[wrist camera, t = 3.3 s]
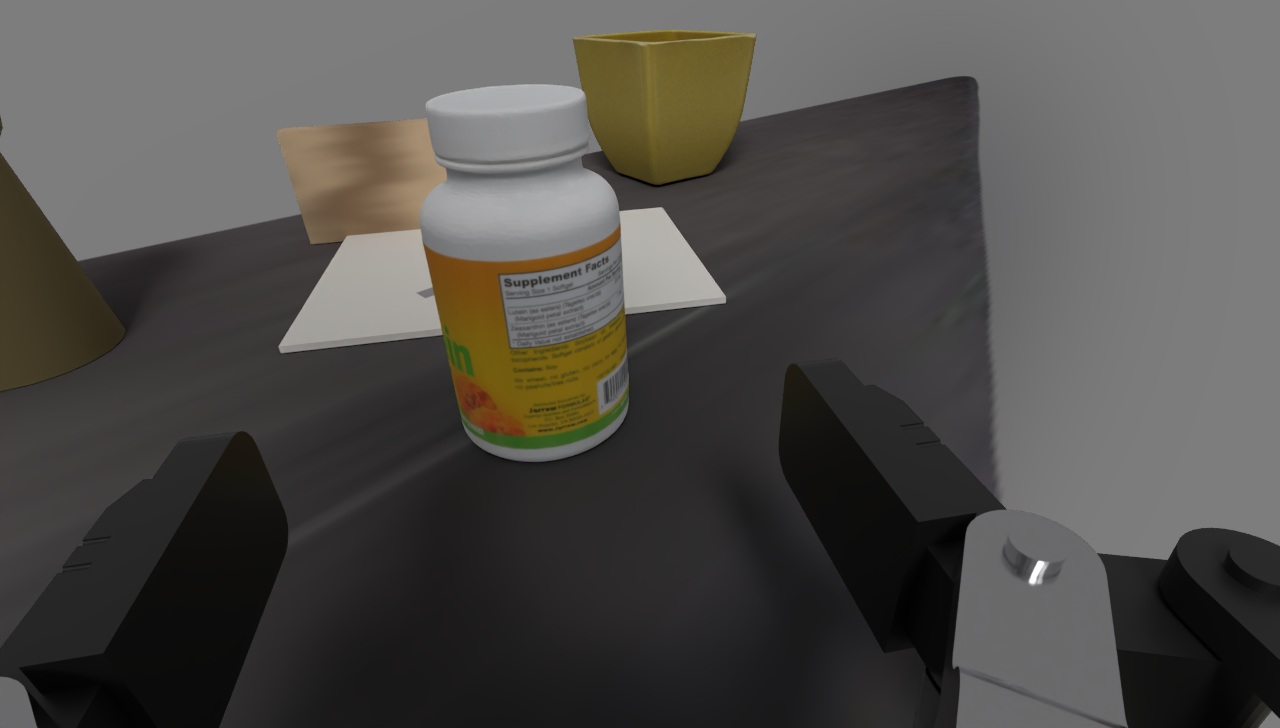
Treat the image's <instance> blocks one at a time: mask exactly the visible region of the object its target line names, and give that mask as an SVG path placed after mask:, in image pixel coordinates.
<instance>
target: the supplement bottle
mask: <svg viewBox="0 0 1280 728" xmlns="http://www.w3.org/2000/svg"><path fill="white" fill-rule="evenodd" d="M426 115H427V121H428V128H429V133H430V138H431V144H432V148H433V151H434V152H435V156H434V158H435V161H436V162H437V164H439V165H440V166H442V167H445V168H446V173H447V180H446V181H444V182H442V183H441V184H439V185H438V186H436V187H435V188H434V189H433V190H432V191H431V192H430V193H429V194H428V195H427V197H426V198H425V199H424V202H423V204H422V206H421V210H420V217H419V221H420V229H421V234H422V241H423V246H424V251H425V255H426V259H427V263H428V268H429V273H430V278H431V282H432V287H433V292H434V296H435V301H436V306H437V310H438V315H439V319H440V324H441V330H442V334H443V338H444V342H445V347H446V351H447V356H448V360H449V365H450V369H451V374H452V379H453V383H454V388H455V393H456V397H457V402H458V407H459V411H460V415H461V419H462V423H463V426H464V429H465V431H466V433H467V435H468V436H469V437H470V439H471V440H472V441H473V442H474V443H475V444H476V445H477V446H479V447H480V448H482V449H483V450H485V451H487V452H489V453H491V454H493V455H496V456H498V457H502V458H506V459H510V460H515V461H523V462H545V461H552V460H558V459H563V458H567V457H570V456H574V455H577V454H580V453H582V452H584V451H587V450H589V449H591V448H593V447H595V446H597V445H598V444H600V443H601V442H603V441H604V440H606V439H607V438H608V437H610V436H611V435H612V434H613V433H614V432H615V431H616V430H617V429H618V428H619V427H620V425H621V424H622V422H623V420H624V418H625V416H626V414H627V411H628V405H629V374H628V357H627V338H626V321H625V304H624V285H623V265H622V245H621V223H620V214H619V206H618V201H617V197H616V195H615V192H614V190H613V189H612V187H611V186H610V185H609V183H608V182H607V181H606V180H605V179H604V178H602V177H601V176H600V175H598V174H596V173H595V172H592V171H590V170H588V169H585V168H583V167H582V161H581V156H583V155H584V154H585V153H586V152H587V151H588V149H589V145H588V141H589V139H590V130H589V122H588V112H587V101H586V95H585V93H584V92H583V91H582V90H580V89H577V88H574V87H567V86H560V85H536V84H534V85H533V84H531V85H509V86H495V87H484V88H476V89H470V90H463V91H458V92H453V93H448V94H443V95H441V96H438V97H435V98H433V99H431V100H429V101H428V102H427V103H426Z"/></svg>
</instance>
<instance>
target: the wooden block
mask: <svg viewBox="0 0 1280 728" xmlns="http://www.w3.org/2000/svg"><path fill="white" fill-rule="evenodd" d="M276 134H277V137H278V140H279V143H280V146H281V150H282V153H283V156H284V160H285V163H286V166H287V169H288V172H289V175H290V179H291V182H292V185H293V188H294V192H295V195H296V198H297V201H298V205H299V208H300V211H301V214H302V217H303V221H304V224H305V227H306V230H307V234H308V237H309V240H310V243H311V244H321V243H332V242H343V241H344V240H345V238H346V237H347V236H351V235H362V234H373V233H384V232H395V231H406V230H417V229H420V221H419V217H420V210H421V206H422V204H423V202H424V199H425V198H426V197H427V195H428V194H429V193H430V192H431V191H432V190H433V189H434V188H435V187H436V186H438V185H439V184H441V183H442V182H444V181H446V180H447V173H446V168H445V167H442V166H440V165H439V164H437V162H436V161H435V158H434V156H435V152H434V151H433V148H432V144H431V138H430V133H429V128H428V121H427V119H414V120H399V121H384V122H371V123H370V122H369V123H354V124H340V125H325V126H310V127H296V128H282V129H280V130H278V131H277V132H276Z"/></svg>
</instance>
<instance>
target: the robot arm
mask: <svg viewBox="0 0 1280 728" xmlns="http://www.w3.org/2000/svg"><path fill="white" fill-rule="evenodd" d="M779 456H780V462H781V466H782V470H783V473H784V476H785V478H786V480H787V482H788V484H789V486H790V487H791V489H792V491H793V493H794V494H795V496H796V498H797V500H798V502H799V503H800V505H801V507H802V509H803V510H804V512H805V514H806V516H807V517H808V519H809V521H810V523H811V525H812V526H813V528H814V530H815V532H816V533H817V535H818V537H819V539H820V540H821V542H822V544H823V546H824V547H825V549H826V551H827V553H828V555H829V556H830V558H831V560H832V562H833V563H834V565H835V567H836V569H837V570H838V572H839V574H840V576H841V577H842V579H843V581H844V583H845V585H846V586H847V588H848V590H849V592H850V593H851V595H852V597H853V599H854V600H855V602H856V604H857V606H858V608H859V609H860V611H861V613H862V615H863V616H864V618H865V620H866V622H867V623H868V625H869V627H870V629H871V630H872V632H873V634H874V636H875V638H876V639H877V641H878V643H879V645H880V646H881V648H882V650H883V652H884V653H887V652H892V651H897V650H902V649H907V648H912V647H915V649H916V650H917V652H918V654H919V655H920V657H921V658H922V660H923V662H924V663H925V664H924V668H923V671H922V674H921V678H920V684H919V691H918V698H917V705H916V711H915V718H914V725H913V728H1258V727H1259V726H1260V725H1261V724H1262V722H1263V721H1264V720H1265V718H1266V717H1267V716H1268V715H1269V714H1270V712H1271V711H1273V712H1274V713H1275V714H1276V715H1277V716H1278V717H1279V718H1280V546H1278V545H1276V544H1274V543H1271V542H1269V541H1267V540H1264V539H1261V538H1259V537H1256V536H1252V535H1249V534H1246V533H1241V532H1238V531H1233V530H1228V529H1220V528H1201V529H1196V530H1192V531H1189V532H1187V533H1185V534H1184V535H1183V536H1182V537H1181V538H1180V539H1179V541H1178V543H1177V545H1176V547H1175V548H1174V550H1173V552H1172V554H1171V555H1170V557H1169V559H1168V560H1161V559H1150V558H1140V557H1129V556H1119V555H1109V554H1099V553H1096V552H1095V550H1094V549H1093V548H1092V547H1091V546H1090V545H1089V544H1088V543H1087V542H1086V541H1085V540H1083V539H1082V538H1081V537H1080V536H1078V535H1077V534H1076V533H1074V532H1073V531H1071V530H1070V529H1068V528H1066V527H1065V526H1063V525H1061V524H1059V523H1057V522H1055V521H1053V520H1050V519H1048V518H1045V517H1043V516H1039V515H1036V514H1033V513H1028V512H1024V511H1017V510H1007V509H1006V508H1005V507H1004V506H1003V505H1002V504H1001V503H1000V502H999V501H998V500H997V499H996V498H995V497H994V496H993V495H992V494H991V492H990V491H989V490H988V489H987V488H986V487H985V486H984V485H983V484H982V483H981V482H980V481H979V480H978V479H977V478H976V477H975V476H974V475H973V474H972V473H971V472H970V470H969V469H968V468H967V467H966V466H965V465H964V464H963V463H962V462H961V461H960V460H959V459H958V458H957V457H956V456H955V455H954V454H953V453H952V452H951V451H950V449H949V448H948V447H947V446H946V445H941V443H940V439H939V438H938V437H937V436H936V435H935V434H934V433H933V432H932V431H931V430H930V428H929V427H924V422H923V421H922V420H921V419H920V418H919V417H918V416H917V415H916V414H915V413H914V412H913V411H912V410H911V409H910V407H909V406H908V405H907V404H906V403H905V402H904V401H902V400H900V399H899V398H897V397H895V396H893V395H892V394H890V393H888V392H886V391H884V390H883V389H881V388H879V387H877V386H875V385H868V386H864V385H863V384H862V383H861V382H860V381H859V380H858V378H857V377H856V376H855V375H854V374H853V373H852V372H851V371H850V369H849V368H848V367H847V366H846V365H845V364H844V363H843V362H842V361H841V360H839V359H836V358H835V359H827V360H819V361H811V362H803V363H795V364H791V365H789V367H788V369H787V371H786V375H785V383H784V393H783V403H782V414H781V424H780V434H779ZM287 543H288V524H287V518H286V514H285V511H284V508H283V506H282V504H281V501H280V499H279V497H278V494H277V492H276V490H275V487H274V485H273V483H272V480H271V478H270V476H269V473H268V471H267V469H266V466H265V464H264V462H263V459H262V457H261V455H260V452H259V450H258V447H257V445H256V443H255V441H254V440H253V438H252V437H251V436H250V435H249V434H248V433H246V432H243V431H241V432H232V433H224V434H216V435H208V436H200V437H192V438H185V439H182V440H181V441H179V442H178V443H177V445H176V446H175V447H174V449H173V450H172V451H171V453H170V454H169V456H168V457H167V458H166V460H165V461H164V463H163V464H162V465H161V467H160V468H159V470H158V471H157V472H156V474H155V475H154V477H153V478H152V479H146V480H142V481H141V482H140V483H138V484H137V485H136V486H135V487H133V488H132V489H131V490H130V491H128V492H127V493H126V494H124V495H123V496H122V497H121V498H119V499H118V500H117V501H115V502H114V503H113V504H112V505H110V506H109V507H108V508H106V510H105V511H104V512H103V514H102V515H101V516H100V518H99V519H98V520H97V522H96V523H95V524H94V526H93V527H92V528H91V530H90V531H89V532H88V534H87V535H86V536H85V537H84V539H83V546H78V547H77V548H76V549H75V551H74V552H73V553H72V555H71V556H70V557H69V559H68V560H67V561H66V563H65V564H64V565H63V572H62V573H59V574H57V575H56V576H55V577H54V578H53V580H52V581H51V582H50V584H49V585H48V586H47V588H46V589H45V590H44V592H43V593H42V594H41V596H40V597H39V598H38V600H37V601H36V602H35V604H34V605H33V606H32V608H31V609H30V610H29V612H28V613H27V614H26V615H25V617H24V618H23V619H22V621H21V622H20V623H19V625H18V626H17V627H16V629H15V630H14V631H13V633H12V634H11V635H10V637H9V638H8V639H7V641H6V642H5V643H4V645H3V646H2V647H1V649H0V728H219V726H220V723H221V721H222V718H223V716H224V713H225V710H226V708H227V705H228V703H229V700H230V697H231V695H232V692H233V690H234V687H235V684H236V682H237V679H238V676H239V674H240V671H241V669H242V666H243V663H244V661H245V658H246V656H247V653H248V650H249V648H250V645H251V643H252V640H253V637H254V635H255V632H256V629H257V627H258V624H259V622H260V619H261V616H262V614H263V611H264V609H265V606H266V603H267V601H268V598H269V596H270V593H271V590H272V588H273V585H274V582H275V580H276V577H277V575H278V572H279V569H280V567H281V564H282V562H283V559H284V556H285V553H286V549H287Z"/></svg>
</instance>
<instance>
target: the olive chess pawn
mask: <svg viewBox="0 0 1280 728" xmlns="http://www.w3.org/2000/svg"><path fill="white" fill-rule="evenodd" d="M1 131H2V123H1V118H0V135H1ZM125 331H126V330H125V328H124V327H123V325H122V324H121V323H120V321H119V320H118V318H117V317H116V315H115V314H114V313H113V311H112V310H111V308H110V307H109V306H108V304H107V303H106V301H105V300H104V299H103V297H102V296H101V294H100V293H99V291H98V290H97V289H96V287H95V286H94V284H93V283H92V282H91V280H90V279H89V277H88V276H87V274H86V273H85V272H84V270H83V269H82V267H81V266H80V265H79V263H78V262H77V260H76V259H75V258H74V256H73V255H72V253H71V252H70V251H69V249H68V248H67V246H66V245H65V243H64V242H63V240H62V239H61V238H60V236H59V235H58V233H57V232H56V231H55V229H54V228H53V226H52V225H51V224H50V222H49V221H48V219H47V218H46V217H45V215H44V214H43V212H42V211H41V209H40V208H39V207H38V205H37V204H36V202H35V201H34V199H33V198H32V197H31V195H30V194H29V192H28V191H27V190H26V188H25V187H24V185H23V184H22V182H21V181H20V180H19V178H18V177H17V175H16V174H15V173H14V171H13V170H12V168H11V167H10V166H9V164H8V163H7V161H6V160H5V158H4V157H3V156H2V154H1V153H0V391H4V390H9V389H13V388H17V387H22V386H26V385H31V384H34V383H37V382H40V381H44V380H47V379H50V378H53V377H56V376H59V375H62V374H65V373H67V372H69V371H72V370H74V369H76V368H78V367H81V366H83V365H85V364H88V363H90V362H92V361H94V360H95V359H97V358H99V357H100V356H102V355H104V354H105V353H107V352H109V351H110V350H112V349H113V348H114V347H115V346H116V345H117V344H118V343H119V342H120V341H121V340H122V339H123V337H124V334H125Z"/></svg>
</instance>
